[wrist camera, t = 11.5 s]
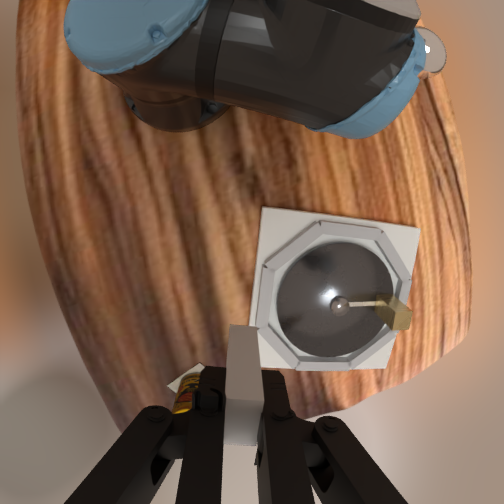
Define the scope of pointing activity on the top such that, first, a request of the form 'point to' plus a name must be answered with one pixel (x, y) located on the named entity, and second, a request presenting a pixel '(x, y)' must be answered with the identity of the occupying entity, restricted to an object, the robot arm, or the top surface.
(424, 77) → the light bulb
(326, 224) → the dial base
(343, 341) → the dial
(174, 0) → the robot arm
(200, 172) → the top surface
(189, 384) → the condiment
